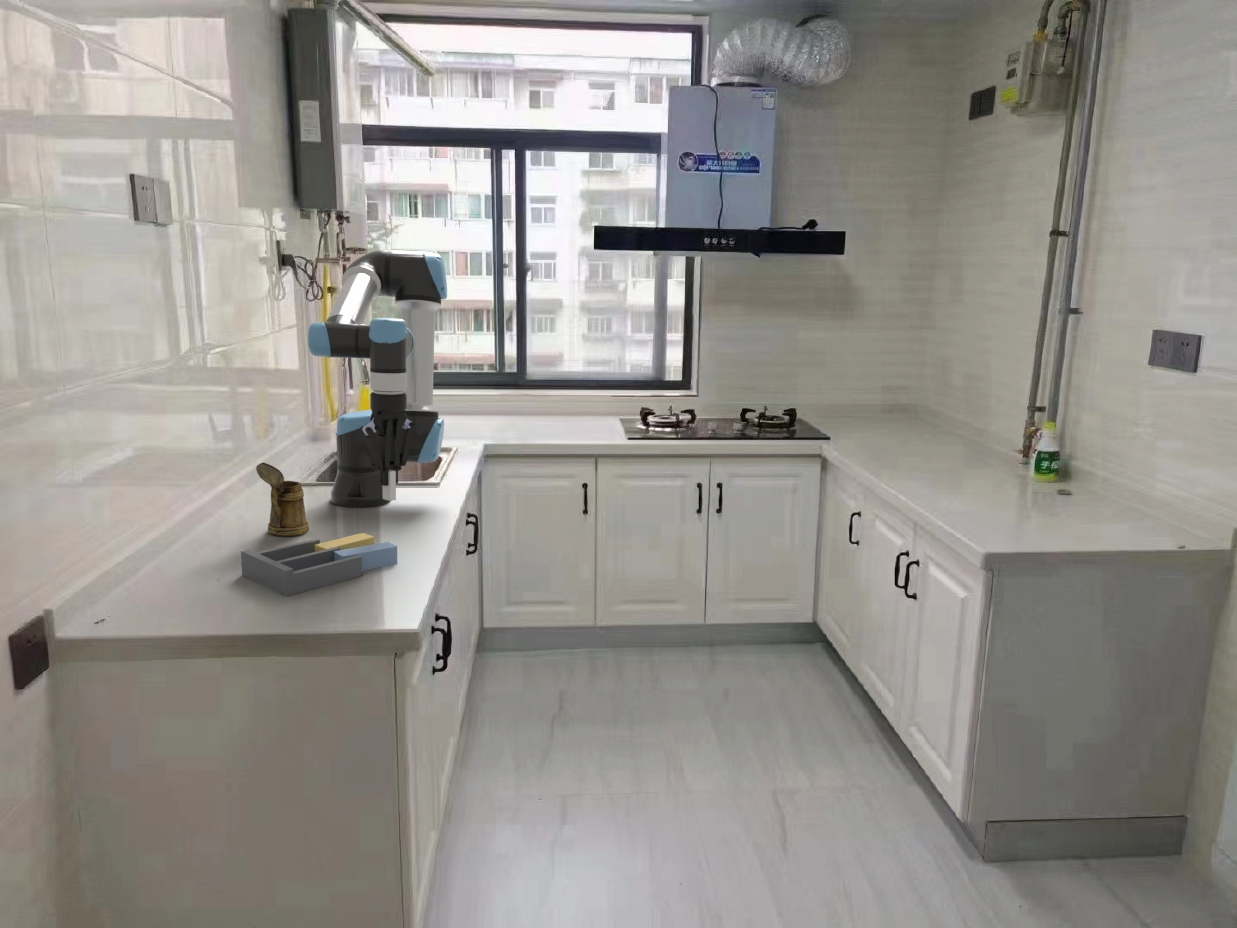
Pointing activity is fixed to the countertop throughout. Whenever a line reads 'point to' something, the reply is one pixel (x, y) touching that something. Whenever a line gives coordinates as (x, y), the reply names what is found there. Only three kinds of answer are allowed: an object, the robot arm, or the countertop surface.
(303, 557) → the comb rack
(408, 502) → the countertop surface
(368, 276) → the robot arm
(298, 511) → the wooden mug
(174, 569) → the countertop surface
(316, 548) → the bar ochre
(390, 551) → the bar blue
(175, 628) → the countertop surface
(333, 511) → the countertop surface
